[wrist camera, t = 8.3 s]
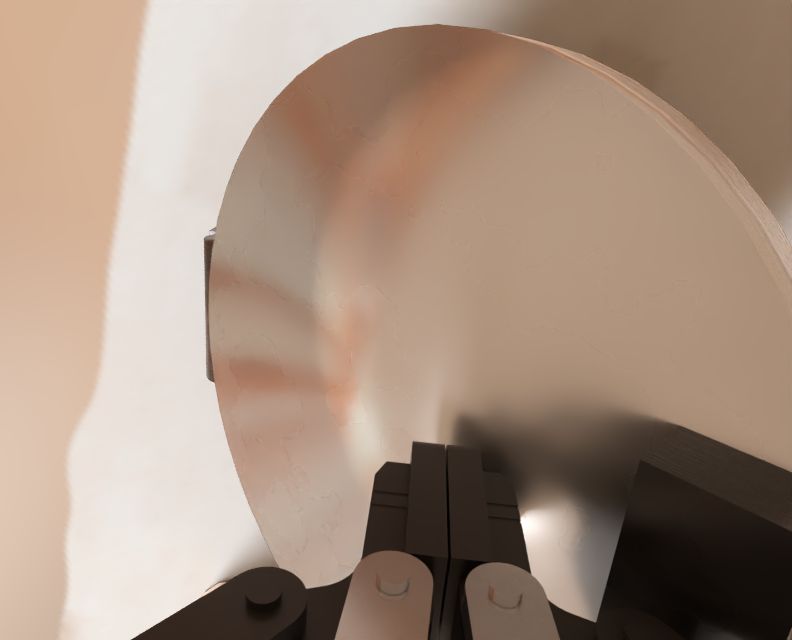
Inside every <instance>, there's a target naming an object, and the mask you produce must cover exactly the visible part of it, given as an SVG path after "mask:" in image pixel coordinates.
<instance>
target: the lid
mask: <svg viewBox="0 0 792 640" xmlns="http://www.w3.org/2000/svg"><path fill="white" fill-rule="evenodd" d="M204 263H205V317H206V372H207V378H208V379H209V380H210V381H212V382H215V387H216V392H217V397H218V403H219V408H220V413H221V417H222V421H223V425H224V429H225V433H226V437H227V441H228V445H229V448H230V451H231V454H232V458H233V461H234V464H235V467H236V470H237V474H238V477H239V479H240V482H241V485H242V487H243V490H244V492H245V495H246V498H247V500H248V503H249V506H250V508H251V510H252V513H253V515H254V517H255V519H256V522H257V524H258V526H259V528H260V530H261V533H262V535H263V537H264V539H265V541H266V543H267V545H268V547H269V549H270V551H271V553H272V555H273V557H274V558H275V560H276V562H277V564H278V566H279V568H281V569H285V570H287V571H290V572H292V573H293V574H295V575H296V576H298V577H299V578H300V579H301V580H302V582H303V584H304V585H305V587H306V589H307V588H314V587H320V586H326V585H330V584H333V583H336V582H339V581H341V580H343V579H345V578H346V577H348V576H349V575H350V574H351V573H352V572H353V571H354V570H355V567H356V566H357V564H358V563H359V562H360V561H361V557H362V552H363V546H364V540H365V533H366V527H367V521H368V514H369V508H370V502H371V496H372V489H373V483H374V477H375V474H376V472H377V471H378V470H379V469H380V468H381V467H382V466H383V465H384V464H385V463H386V461H389V462H398V463H408V464H410V459H411V450H412V442H413V441H417V442H427V443H436V444H445V450H446V445H456V446H466V447H475V448H480V452H481V460H482V469H483V471H484V472H493V473H502V474H503V475H504V476H505V477H506V479H507V480H508V481H509V482H510V484H511V485H512V486H513V487H514V489H515V492H516V498H517V503H518V509H519V513H520V518H521V523H522V528H523V533H524V539H525V544H526V549H527V554H528V559H529V564H530V569H531V574H532V576H534V577H535V578H536V579H537V580H538V581H539V583H540V584H541V585H542V587H543V588H544V591H545V593H546V596H547V599H548V600H549V601H550V602H552V603H553V604H555V605H556V606H558V607H559V608H561V609H563V610H565V611H567V612H569V613H572V614H574V615H577V616H580V617H582V618H585V619H588V620H590V621H593V622H596V623H598V620H599V619H600V617H601V616H602V615H603V614H604V613H605V612H607V611H610V610H612V609H616V608H631V609H636V610H640V611H643V612H646V613H648V614H650V615H653V616H654V617H656V618H658V619H660V620H661V621H663V622H664V623H665V624H667V625H668V626H669V627H671V628H672V629H673V630H674V631H676V632H677V633H678V634H679V635H681V636H682V637H683V638H685V639H686V640H792V246H791V244H790V243H789V241H788V239H787V237H786V236H785V234H784V232H783V230H782V228H781V227H780V225H779V223H778V221H777V219H776V218H775V216H774V215H773V214H772V213H771V211H770V210H769V209H768V207H767V206H766V205H765V203H764V202H763V201H762V200H761V198H760V197H759V196H758V194H757V193H756V192H755V190H754V189H753V188H752V186H751V185H750V184H749V183H748V181H747V180H746V179H745V177H744V176H743V175H742V173H741V172H740V171H739V170H738V168H737V167H736V166H735V164H734V163H733V162H732V161H731V160H730V159H729V158H728V157H727V156H726V155H725V154H724V153H723V152H722V151H721V150H720V149H719V148H718V147H717V146H716V145H715V144H714V143H713V142H712V141H711V140H710V139H708V138H707V137H706V136H705V135H704V134H703V133H702V132H701V131H700V130H699V129H698V128H697V127H696V126H695V125H694V124H693V123H692V122H691V121H690V120H689V119H688V118H687V117H686V116H685V115H683V114H682V113H681V112H679V111H678V110H676V109H675V108H674V107H672V106H671V105H669V104H668V103H666V102H665V101H664V100H662V99H661V98H659V97H658V96H657V95H655V94H654V93H652V92H651V91H650V90H648V89H647V88H645V87H644V86H642V85H641V84H640V83H638V82H637V81H635V80H634V79H632V78H630V77H628V76H626V75H624V74H622V73H620V72H618V71H616V70H614V69H612V68H610V67H608V66H606V65H604V64H602V63H600V62H598V61H595V60H593V59H591V58H589V57H587V56H585V55H583V54H580V53H577V52H574V51H570V50H567V49H564V48H560V47H557V46H553V45H550V44H547V43H543V42H540V41H537V40H533V39H528V38H524V37H519V36H514V35H510V34H505V33H500V32H495V31H491V30H486V29H477V28H468V27H459V26H450V25H440V24H435V25H423V26H411V27H399V28H393V29H390V30H386V31H383V32H379V33H375V34H372V35H368V36H365V37H361V38H358V39H356V40H354V41H352V42H350V43H348V44H346V45H344V46H342V47H340V48H338V49H336V50H334V51H332V52H330V53H328V54H326V55H324V56H323V57H322V58H320V59H319V60H318V61H316V62H315V63H314V64H312V65H311V66H310V67H308V68H307V69H306V70H304V71H303V72H302V73H300V74H299V75H298V76H296V77H295V78H294V80H293V81H292V82H291V83H290V84H289V85H288V86H287V87H286V88H285V89H284V90H283V91H282V92H281V93H280V94H279V95H278V96H277V97H276V98H275V99H274V100H273V102H272V103H271V104H270V106H269V107H268V109H267V110H266V111H265V113H264V114H263V116H262V117H261V118H260V120H259V121H258V123H257V124H256V125H255V127H254V129H253V130H252V132H251V134H250V136H249V138H248V140H247V142H246V144H245V145H244V147H243V149H242V151H241V153H240V155H239V157H238V159H237V162H236V164H235V167H234V169H233V172H232V175H231V177H230V180H229V182H228V185H227V188H226V191H225V195H224V198H223V202H222V205H221V209H220V213H219V216H218V221H217V226H216V232H215V234H213V235H209V236H206V237H205V238H204Z"/></svg>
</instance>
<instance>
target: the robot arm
mask: <svg viewBox="0 0 792 640" xmlns="http://www.w3.org/2000/svg"><path fill="white" fill-rule="evenodd" d="M131 640H686V639H685V638H683V637H682V636H681V635H679V634H678V633H677V632H676V631H674V630H673V629H672V628H671V627H669V626H668V625H667V624H665V623H664V622H663V621H661V620H660V619H658V618H656V617H654V616H653V615H650V614H648V613H646V612H643V611H640V610H636V609H631V608H616V609H612V610H610V611H607V612H605V613H604V614H603V615H602V616H601V617H600V619H599V620H598V623H596V622H593V621H590V620H588V619H585V618H582V617H580V616H577V615H574V614H572V613H569V612H567V611H565V610H563V609H561V608H559V607H558V606H556V605H555V604H553V603H552V602H550V601H549V600H548V599H547V596H546V593H545V591H544V588H543V587H542V585H541V584H540V583H539V581H538V580H537V579H536V578H535V577H534V576H532V574H531V569H530V564H529V559H528V554H527V549H526V544H525V539H524V533H523V528H522V523H521V518H520V513H519V509H518V503H517V498H516V492H515V489H514V487H513V486H512V485H511V484H510V482H509V481H508V480H507V479H506V477H505V476H504V475H503V474H502V473H493V472H484V471H483V469H482V460H481V452H480V448H475V447H466V446H456V445H446V450H445V444H436V443H427V442H417V441H413V442H412V450H411V459H410V464H408V463H398V462H389V461H386V463H385V464H384V465H383V466H382V467H381V468H380V469H379V470H378V471H377V472H376V474H375V477H374V483H373V489H372V496H371V502H370V508H369V514H368V521H367V527H366V533H365V540H364V546H363V552H362V557H361V561H360V562H359V563H358V564H357V566H356V567H355V570H354V571H353V572H352V573H351V574H350V575H349V576H348V577H346V578H345V579H343V580H341V581H339V582H336V583H333V584H330V585H326V586H320V587H314V588H307V589H306V587H305V585H304V584H303V582H302V580H301V579H300V578H299V577H298V576H296V575H295V574H293V573H292V572H290V571H287V570H285V569H281V568H276V567H260V568H255V569H251V570H248V571H245V572H243V573H241V574H239V575H238V576H236V577H234V578H233V579H231V580H229V581H228V582H226V583H224V584H223V585H221V586H219V587H218V588H216V589H214V590H213V591H211V592H209V593H208V594H206V595H204V596H203V597H201V598H199V599H198V600H196V601H194V602H193V603H191V604H189V605H188V606H186V607H185V608H183V609H181V610H180V611H178V612H176V613H175V614H173V615H171V616H170V617H168V618H166V619H165V620H163V621H161V622H160V623H158V624H156V625H155V626H153V627H151V628H150V629H148V630H146V631H145V632H143V633H141V634H140V635H138V636H136V637H135V638H133V639H131Z"/></svg>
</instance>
